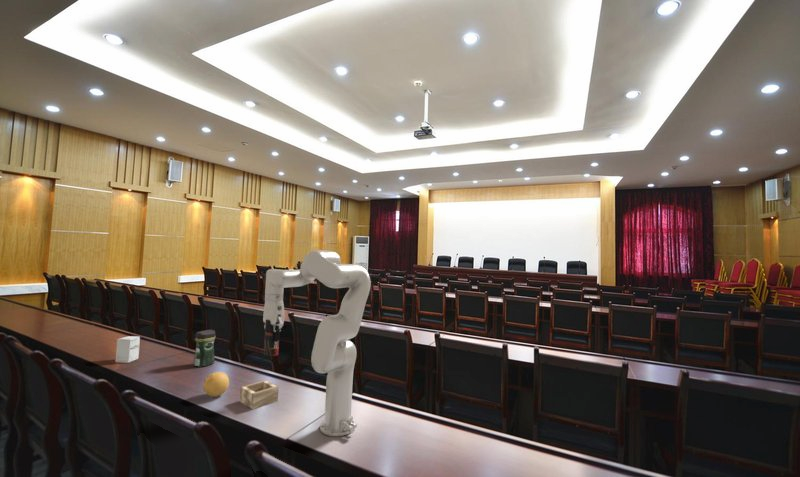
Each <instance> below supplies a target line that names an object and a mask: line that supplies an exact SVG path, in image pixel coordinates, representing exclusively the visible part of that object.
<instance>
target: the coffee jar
mask: <svg viewBox="0 0 800 477" xmlns="http://www.w3.org/2000/svg"><path fill="white" fill-rule="evenodd" d="M194 340H195V353H194V358H193V359H194V360H193V366H195V367H196V366H198V367H199V368H200V367H201V368H203V367H202V366H204V367H206V366H207V365H208V366H210V364H211V365H214V364H215V340H216V331H215V330H213V329H205V330H201V331H197V332H196V333H195V338H194ZM198 367H197V368H198Z"/></svg>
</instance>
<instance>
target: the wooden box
mask: <svg viewBox="0 0 800 477" xmlns="http://www.w3.org/2000/svg"><path fill="white" fill-rule="evenodd" d="M239 389H240V392H239V402H241V403H242V404H243V405H245V406H246V407H247V408H250V409H252V410H255V409H258V408H261V407H265V406H268V405H271V404H274V403H276V402H279V386H277V385H275V384H273V383H272V382H270V381H268V380H265V379H264V380H259V381H257V382H253V383H250V384H246V385H243V386H240V388H239Z"/></svg>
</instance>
